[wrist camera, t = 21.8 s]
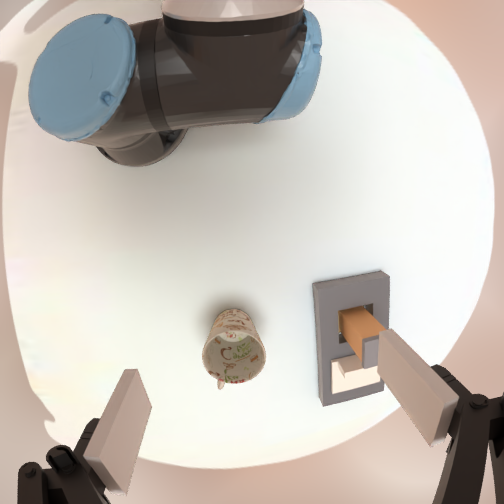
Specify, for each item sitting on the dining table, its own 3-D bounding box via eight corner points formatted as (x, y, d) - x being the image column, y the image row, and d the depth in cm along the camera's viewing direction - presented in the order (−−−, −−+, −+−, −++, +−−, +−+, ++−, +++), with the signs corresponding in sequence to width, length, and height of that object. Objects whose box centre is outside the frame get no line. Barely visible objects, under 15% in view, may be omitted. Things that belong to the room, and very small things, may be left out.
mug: (265, 307, 49) (273, 337, 39) (246, 372, 51) (249, 409, 41) (212, 296, 48) (208, 324, 38) (198, 363, 50) (192, 399, 40)
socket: (312, 283, 48) (317, 289, 45) (381, 270, 48) (389, 275, 46) (319, 396, 53) (323, 406, 50) (377, 382, 54) (383, 390, 51)
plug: (337, 308, 49) (364, 342, 37) (361, 302, 49) (394, 334, 38) (338, 331, 50) (364, 369, 38) (362, 325, 50) (392, 361, 39)
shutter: (330, 360, 48) (338, 374, 44) (380, 348, 48) (390, 360, 44) (331, 391, 49) (338, 406, 45) (378, 379, 50) (387, 392, 45)
